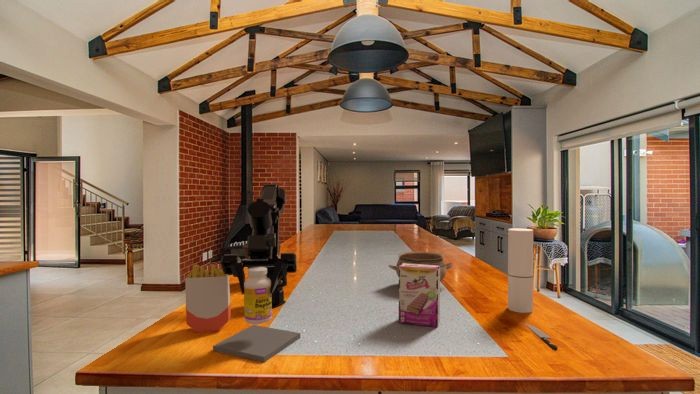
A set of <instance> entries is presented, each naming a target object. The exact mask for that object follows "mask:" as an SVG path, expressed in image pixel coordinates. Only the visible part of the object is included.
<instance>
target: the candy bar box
mask: <svg viewBox="0 0 700 394" xmlns="http://www.w3.org/2000/svg"><path fill="white" fill-rule="evenodd" d="M440 303H441V282H440V266H436V265H422V264H408V263H402V264H401V265H400V266H399V277H398V323H399V324H406V325H413V326H414V325H415V326H422V327H423V326H424V327H431V328H438V326H439V324H440V322H441V321H440V320H441V319H440V318H441V316H440V315H441V313H440V312H441V308H440V307H441V306H440V305H441V304H440Z"/></svg>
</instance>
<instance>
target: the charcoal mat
mask: <svg viewBox="0 0 700 394" xmlns="http://www.w3.org/2000/svg"><path fill="white" fill-rule="evenodd" d="M299 339H301V332H297V331H291V330H284V329H280V328H279V329H278V328H274V327H270V326H269V327H268V326H263V325H258V324H251V326H248V327H246V328H244V329H243V330H241V331H239V332H237V333H235V334H233V335H231V336H229V337H227V338H225V339H224V340H221V341H220V342H217V343H216V344H214V345H212V351H213V352H218V353H221V354H225V355H231V356H235V357H240V358H243V359H249V360H253V361H256V362H257V361H258V362H262V363H265V362H267V361H269V360H270V359H271V358H273V357H274V356H276V355H277V354H278V353H280V352H282V351H284V350H285V349H286V348H287V347H289V346H290V345H292V344H293V343H294V342H296V341H298V340H299Z"/></svg>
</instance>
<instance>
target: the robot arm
mask: <svg viewBox="0 0 700 394" xmlns="http://www.w3.org/2000/svg"><path fill="white" fill-rule="evenodd" d="M286 204H287V193H286V190H285V189H283V188H282V187H280V185H279V184H277V183H266V184H263V187H262V189H261V190H260V198H256V201H253V202H252V203H250V204H249V206H247V214H248V219H249V220H248V221H249V224H250V227H251V229H252V233H251V234H250V235H248V236H247V243H248V244H247V249H248V253H247V254H248V256H249V259H245V258H243V257H242V258H241V257H240V256H239V254H238V253H235V254H234V253H231V254H229V253H227V254H226V253H225V254H224V255H222V256H221V258H220V266H221V270H222V269H223V272H224V274H226V275H229V276H230V275H232V276H233V278H234V277H235V278H237V280H238V283H239V288H240V293H241V295H244V282H245V281H246V273H245V271H244V270H245V268H247V267H266V268H267V275H266V277H267V278H269V279H270V280H271V293H272V308H277V307H279V306H281V305H283V304H285V303H286V300H285V296H284V295H285V290H284V288H285V286H287V285H288V277H287V275H288V273H289V274H290V273H291V274H294V273H297V271H298V270H297V268H298V267H297V266H298V265H297V264H298V263H297V262H298V261H297V260H298V259H297V254H296V253H295V252H280V255H279V257H278V249H279V242H280V217H281V216H282V214H283V212H284V211H285V205H286Z"/></svg>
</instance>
